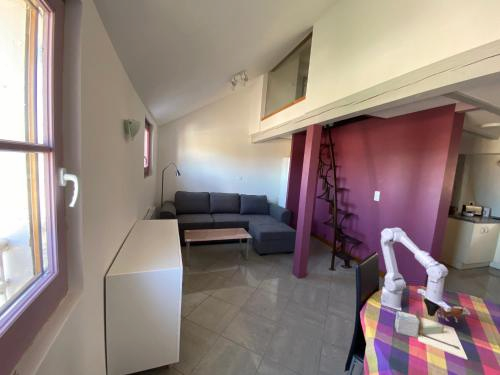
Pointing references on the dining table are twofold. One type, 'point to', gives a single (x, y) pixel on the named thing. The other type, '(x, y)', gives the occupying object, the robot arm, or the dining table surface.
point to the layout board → (442, 339)
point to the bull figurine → (453, 312)
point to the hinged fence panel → (430, 329)
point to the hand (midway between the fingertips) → (430, 315)
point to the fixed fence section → (418, 316)
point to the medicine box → (406, 324)
